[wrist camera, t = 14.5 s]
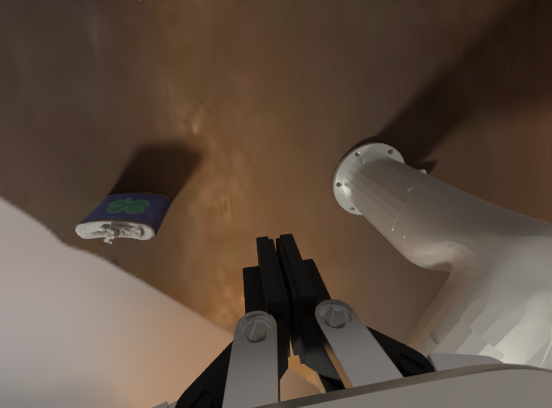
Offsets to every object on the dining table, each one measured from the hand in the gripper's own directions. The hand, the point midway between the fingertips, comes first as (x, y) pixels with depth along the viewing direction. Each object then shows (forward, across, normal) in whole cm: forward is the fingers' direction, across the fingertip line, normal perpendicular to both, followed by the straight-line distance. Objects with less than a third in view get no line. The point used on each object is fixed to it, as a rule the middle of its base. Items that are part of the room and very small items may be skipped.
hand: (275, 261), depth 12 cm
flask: (+29, +17, +8) cm, 35 cm away
